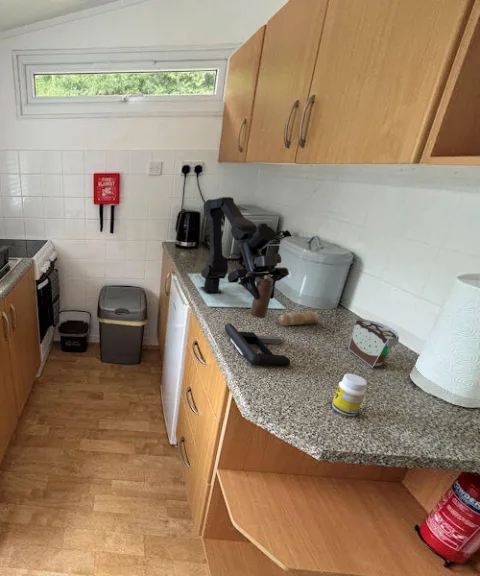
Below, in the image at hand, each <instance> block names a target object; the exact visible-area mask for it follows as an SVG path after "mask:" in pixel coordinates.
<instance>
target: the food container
mask: <svg viewBox="0 0 480 576" xmlns="http://www.w3.org/2000/svg"><path fill="white" fill-rule="evenodd" d="M352 325H353V330H352V333H351V337H350V340H349V344H348V348H347V350H348V351H349V352H351V353H352V354H354V355H355V356H356V357H358V358H359V359H360V360H362V362H364V363H365V364H367V365H368V366H369V367H371V368H372V369H378V368H380V367H381V366H382V365H383V363H384V362H385V360H386V359H387V357H388V355H389V353H390V352H391V350H392V349H393V347H395V346H397V345H398V344H399V340H400V336H399V333H398V332H397V330H395V329H393V328H392V327H390V326H388V325H386V324H383V323H382V322H381V323H380V322H378V321H374V320H370V319H365V318H356V319H355V320H354V321H353V323H352Z"/></svg>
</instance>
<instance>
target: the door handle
mask: <svg viewBox="0 0 480 576" xmlns="http://www.w3.org/2000/svg"><path fill="white" fill-rule="evenodd" d="M222 329H223V330H225V332H226V333H227V335H228V336H229V337H230V342H231V343H232V344H233V346H234V347H235V348H236V350H237V351H238V353H240V356H244V358H245V359H247V361H248V362H249V364H251V365H253V366H258V365H266V366H280V367H281V366H283V367H287V366H290V364H291V361H290V359H289V357H288V356H286V355H284V354H274V353H273V352H272V351H271V350H270V349H269V347H268V346H266V344H272V345H273V344H274V345H280V344H281V341H282V338H281V337H279V336H273V335H258V334H257V335H256V333H255V332H254V331H239V330H238V329H237V328H236V327H235V325H233V324H232V323H229V322H228V323H226V324H225V325H224V328H222ZM251 345H253V346H256V347H257V348H258V349H259V351H258V352H256V350H254V349H253V347H252V346H251Z"/></svg>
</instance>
